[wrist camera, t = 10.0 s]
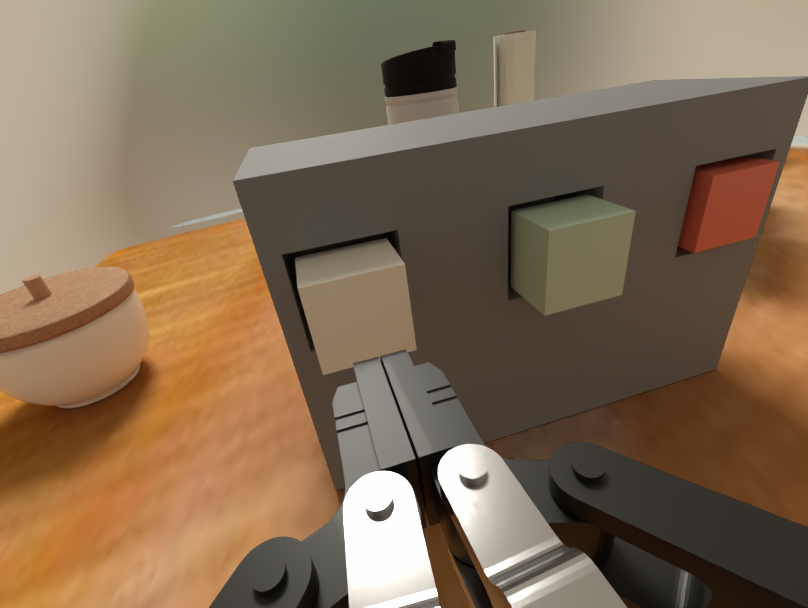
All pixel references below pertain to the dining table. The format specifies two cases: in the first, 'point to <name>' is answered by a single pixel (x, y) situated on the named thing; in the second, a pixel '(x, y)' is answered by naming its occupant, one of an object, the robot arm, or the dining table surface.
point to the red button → (726, 202)
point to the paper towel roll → (514, 67)
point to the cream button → (356, 303)
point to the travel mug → (421, 83)
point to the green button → (570, 252)
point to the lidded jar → (71, 337)
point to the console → (491, 239)
